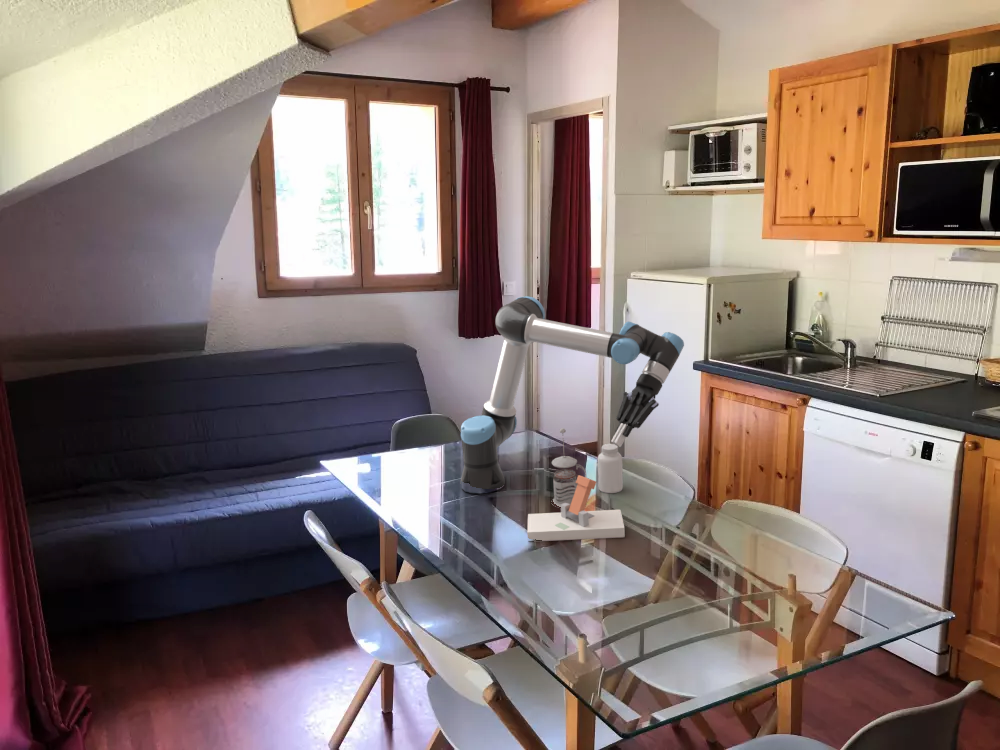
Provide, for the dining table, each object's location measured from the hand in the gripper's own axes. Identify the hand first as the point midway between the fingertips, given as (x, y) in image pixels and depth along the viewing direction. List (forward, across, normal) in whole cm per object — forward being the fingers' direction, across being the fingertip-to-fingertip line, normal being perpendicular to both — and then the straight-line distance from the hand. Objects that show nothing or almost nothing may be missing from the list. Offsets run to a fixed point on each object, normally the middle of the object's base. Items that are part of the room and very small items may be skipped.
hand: (615, 444), depth 242 cm
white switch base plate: (+28, 0, -3) cm, 28 cm away
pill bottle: (+9, +13, -23) cm, 28 cm away
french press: (+20, +16, -12) cm, 28 cm away
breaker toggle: (+26, 0, 0) cm, 26 cm away
